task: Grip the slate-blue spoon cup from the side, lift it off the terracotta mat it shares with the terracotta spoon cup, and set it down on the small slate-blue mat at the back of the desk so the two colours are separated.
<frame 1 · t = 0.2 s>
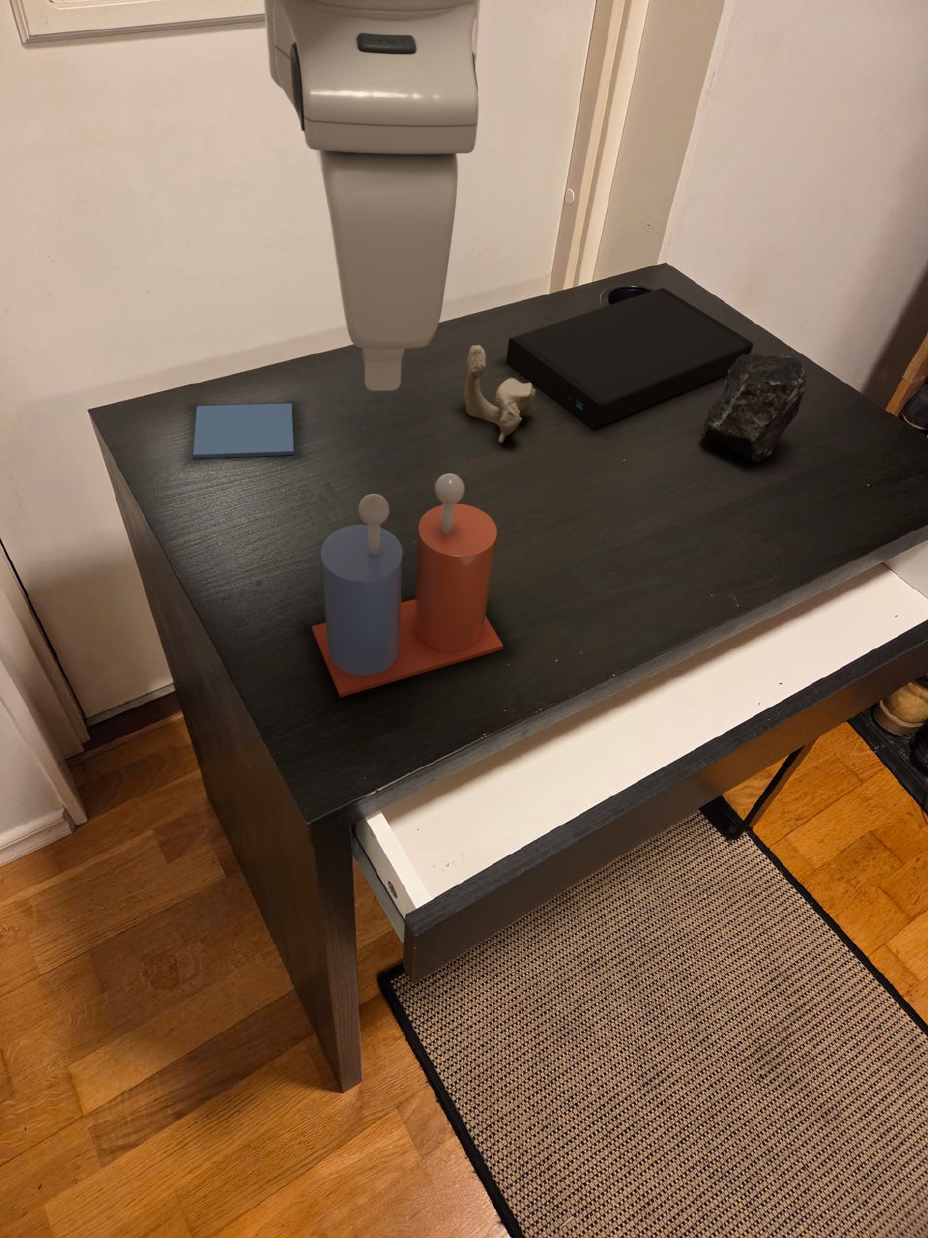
hand: (373, 333, 46), 26 cm above the table, tool pointing down, fingers open, 8 cm apart
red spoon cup: (448, 624, 66), resting on red mat
blue mat: (244, 432, 81), on the table
external hard drive: (626, 366, 94), on the table
red mat: (407, 640, 65), on the table
bone: (502, 425, 85), on the table
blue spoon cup: (363, 648, 64), resting on red mat
rock: (735, 448, 86), on the table
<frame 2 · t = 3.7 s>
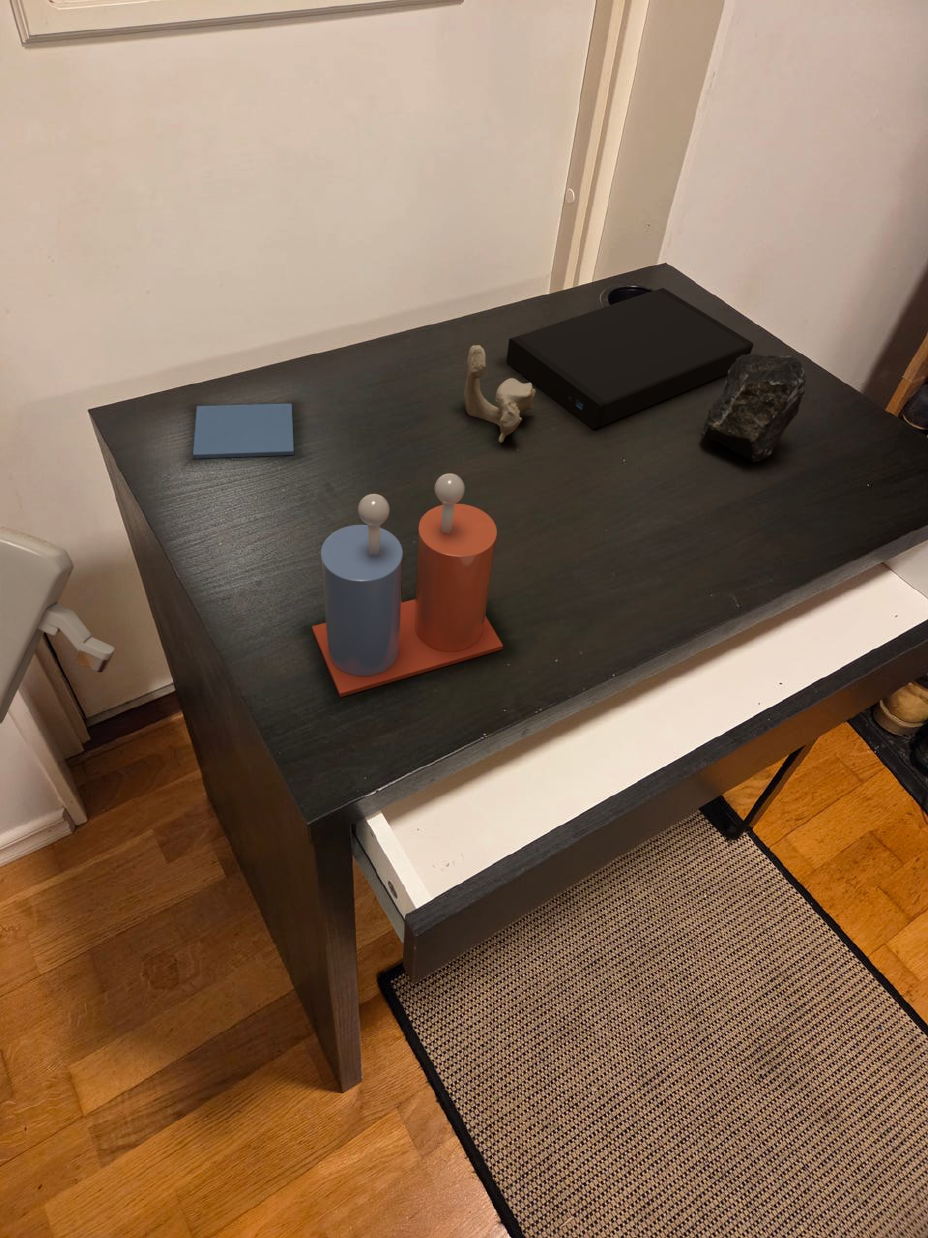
hand: (80, 721, 57), 1 cm above the table, tool tilted 65°, fingers open, 8 cm apart
nothing on the table moved.
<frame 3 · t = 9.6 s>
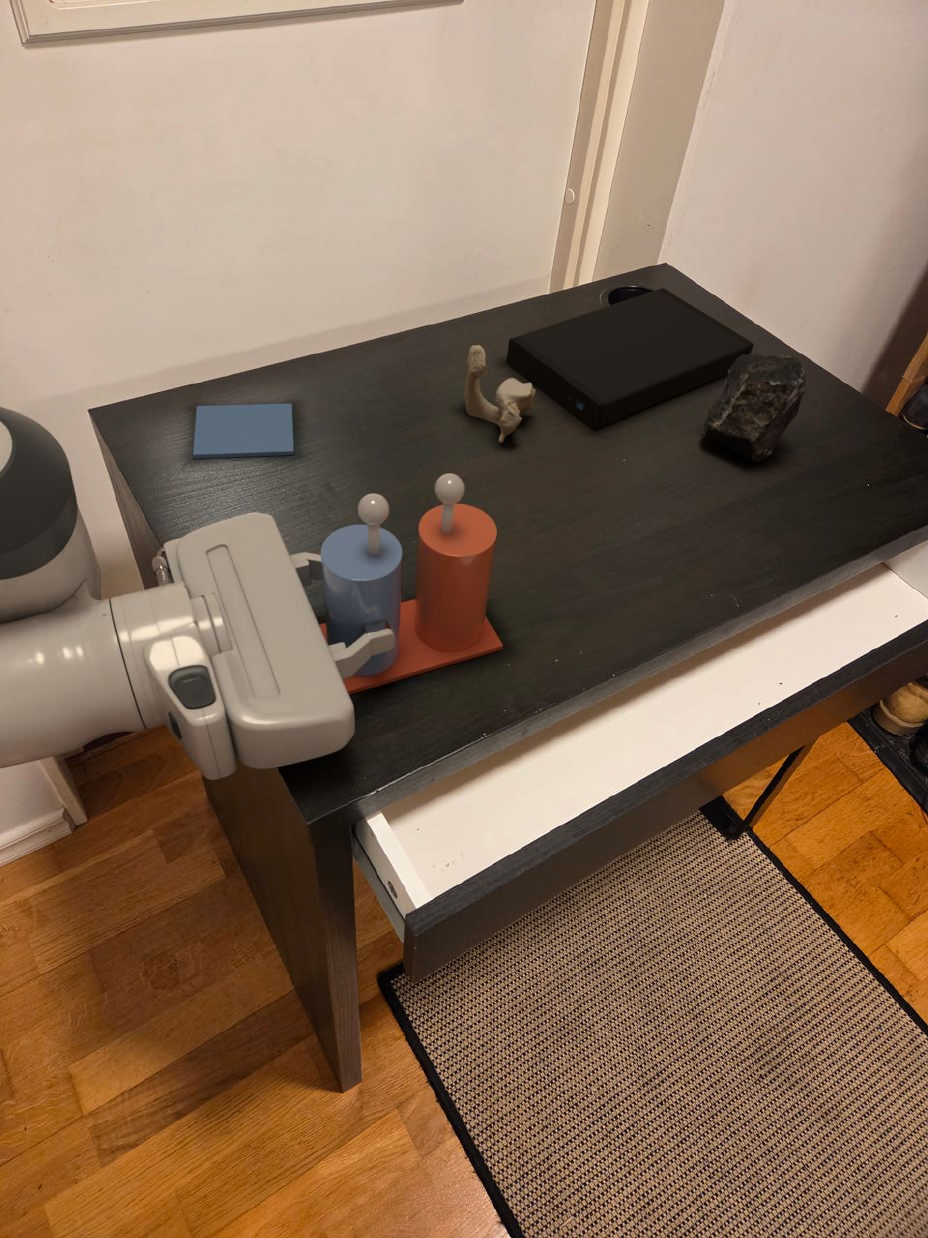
hand: (374, 599, 60), 6 cm above the table, tool horizontal, fingers closed on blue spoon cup, 5 cm apart
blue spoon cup: (363, 648, 64), point 1 cm above the table, touching gripper, red mat
everything else where it was.
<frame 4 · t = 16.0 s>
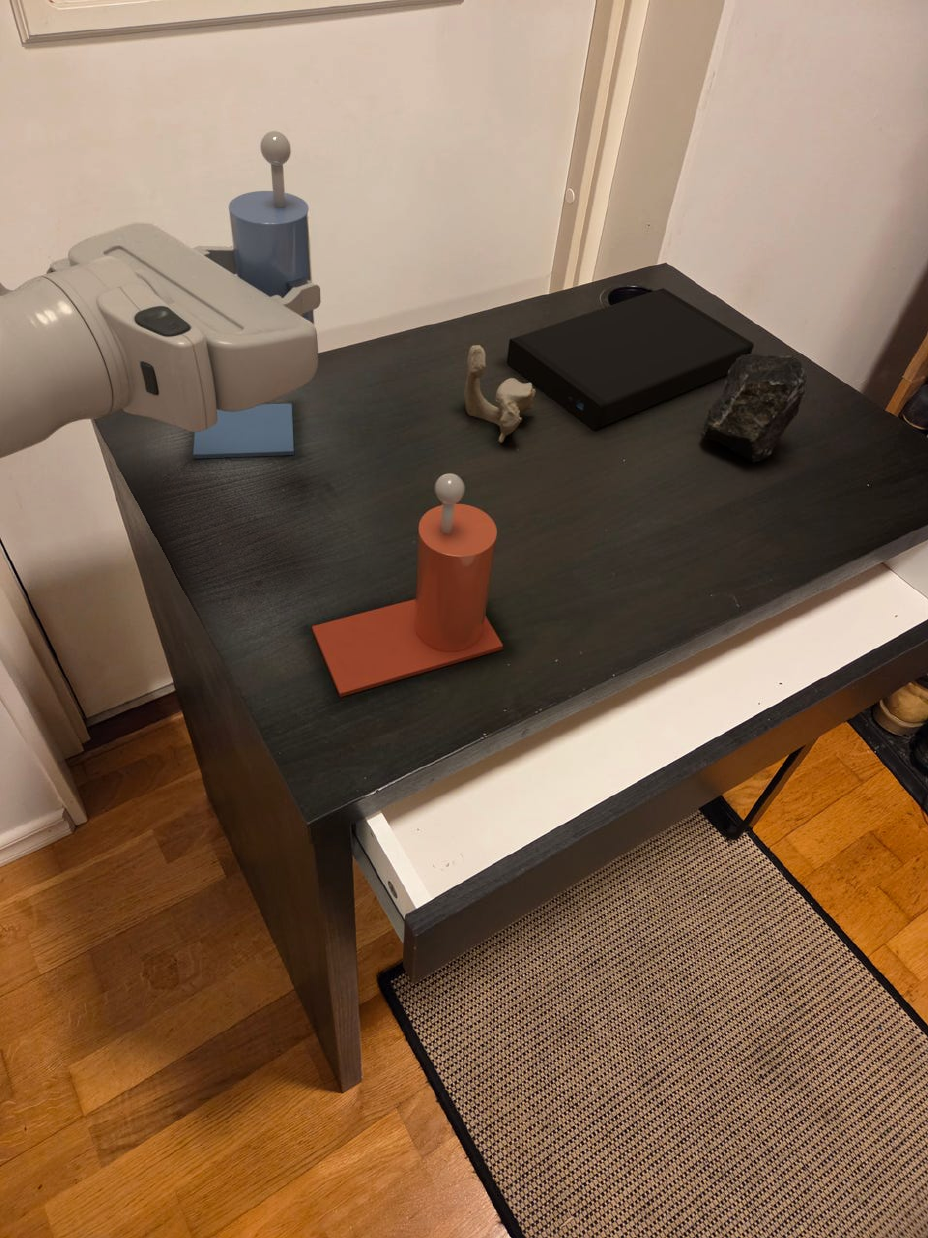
hand: (284, 273, 63), 19 cm above the table, tool horizontal, fingers closed on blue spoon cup, 5 cm apart
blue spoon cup: (279, 339, 66), point 14 cm above the table, touching gripper
everything else where it was.
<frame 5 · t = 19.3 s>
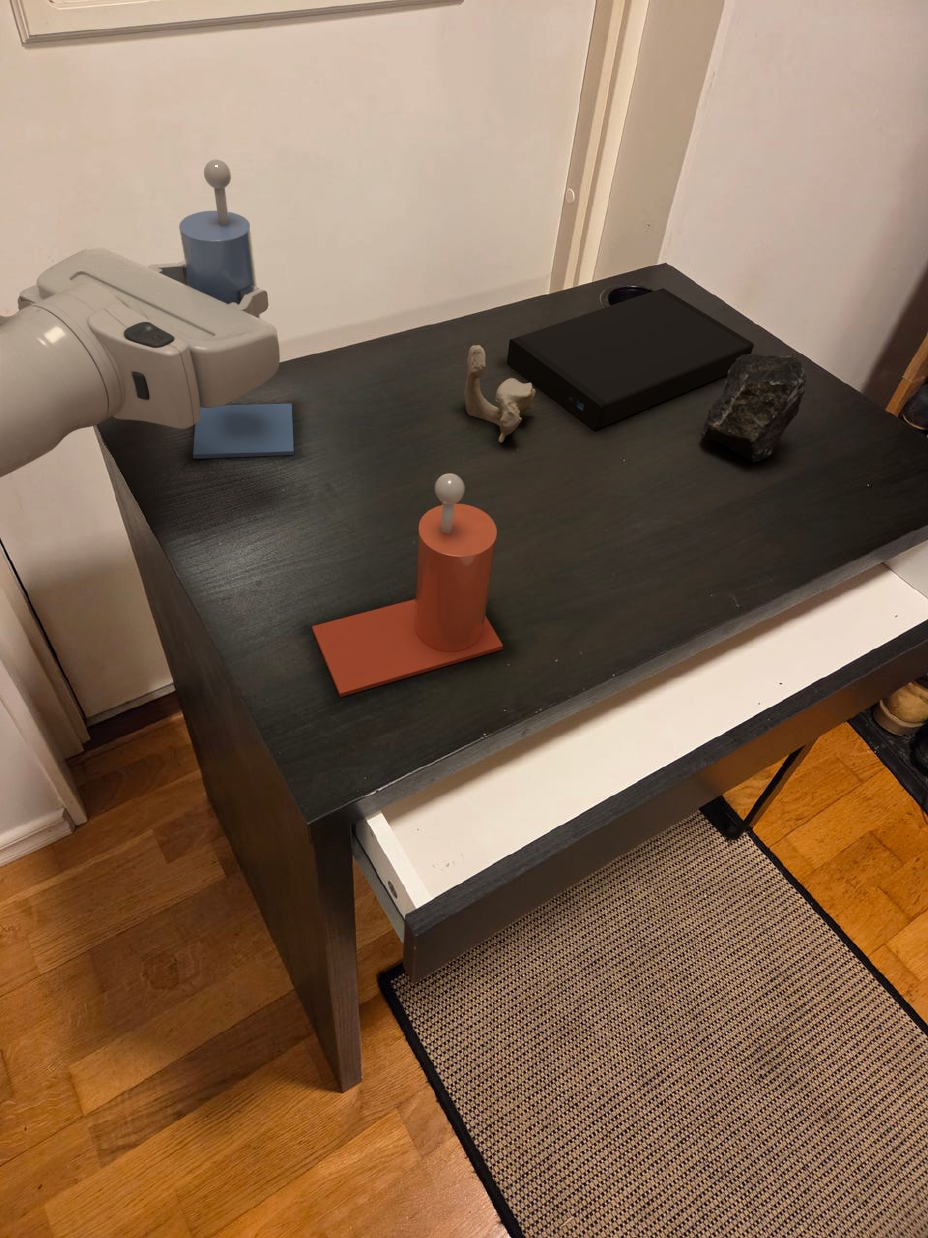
hand: (231, 282, 71), 14 cm above the table, tool horizontal, fingers closed on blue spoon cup, 5 cm apart
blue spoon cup: (230, 341, 74), point 9 cm above the table, touching gripper
everything else where it was.
when the fingers open (5 cm above the table, at t = 22.3 s): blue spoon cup stays where it is, resting on blue mat.
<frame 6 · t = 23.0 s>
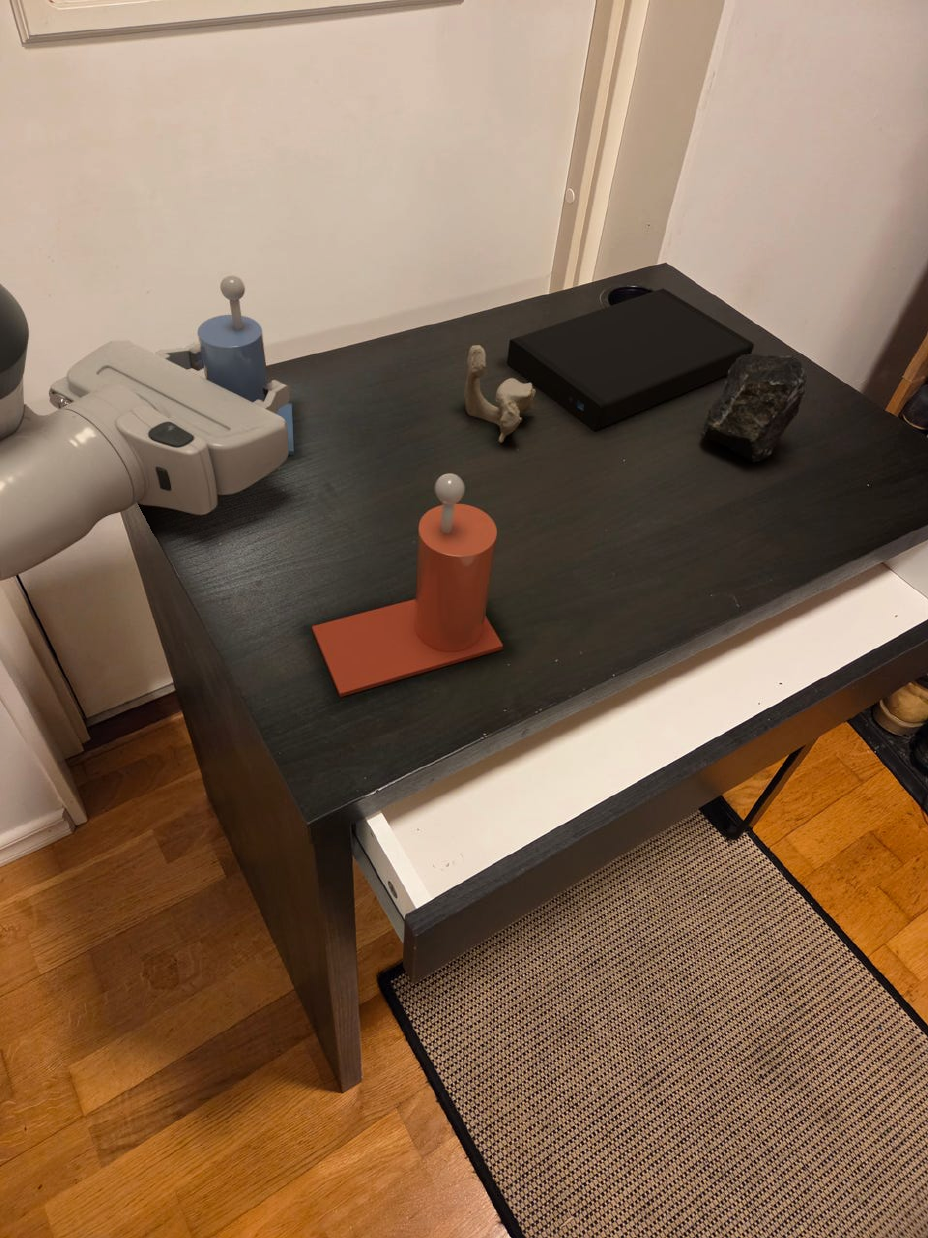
hand: (243, 370, 77), 6 cm above the table, tool horizontal, fingers open, 8 cm apart
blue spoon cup: (243, 427, 81), resting on blue mat
everything else where it was.
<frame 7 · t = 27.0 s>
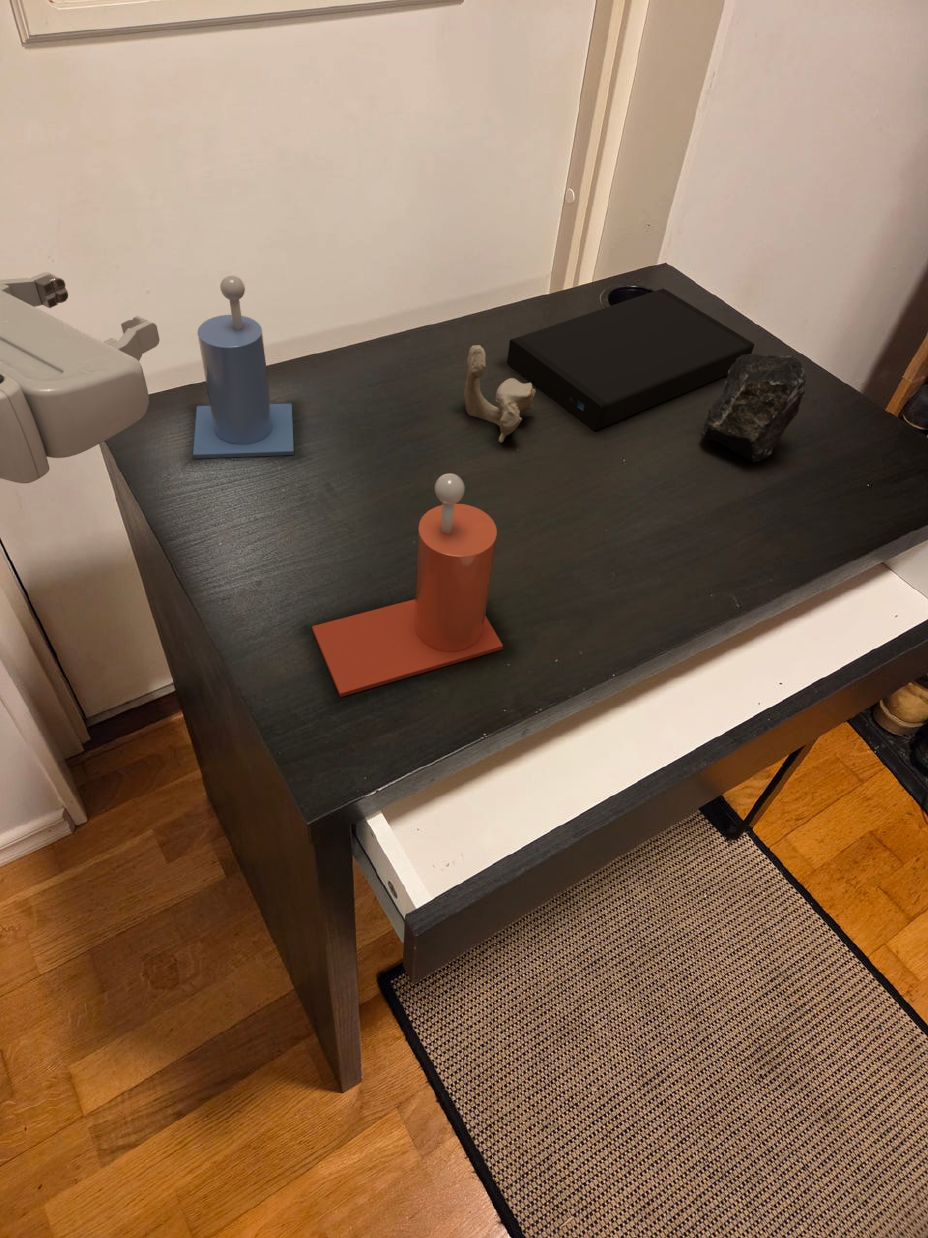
hand: (104, 306, 61), 18 cm above the table, tool horizontal, fingers open, 8 cm apart
nothing on the table moved.
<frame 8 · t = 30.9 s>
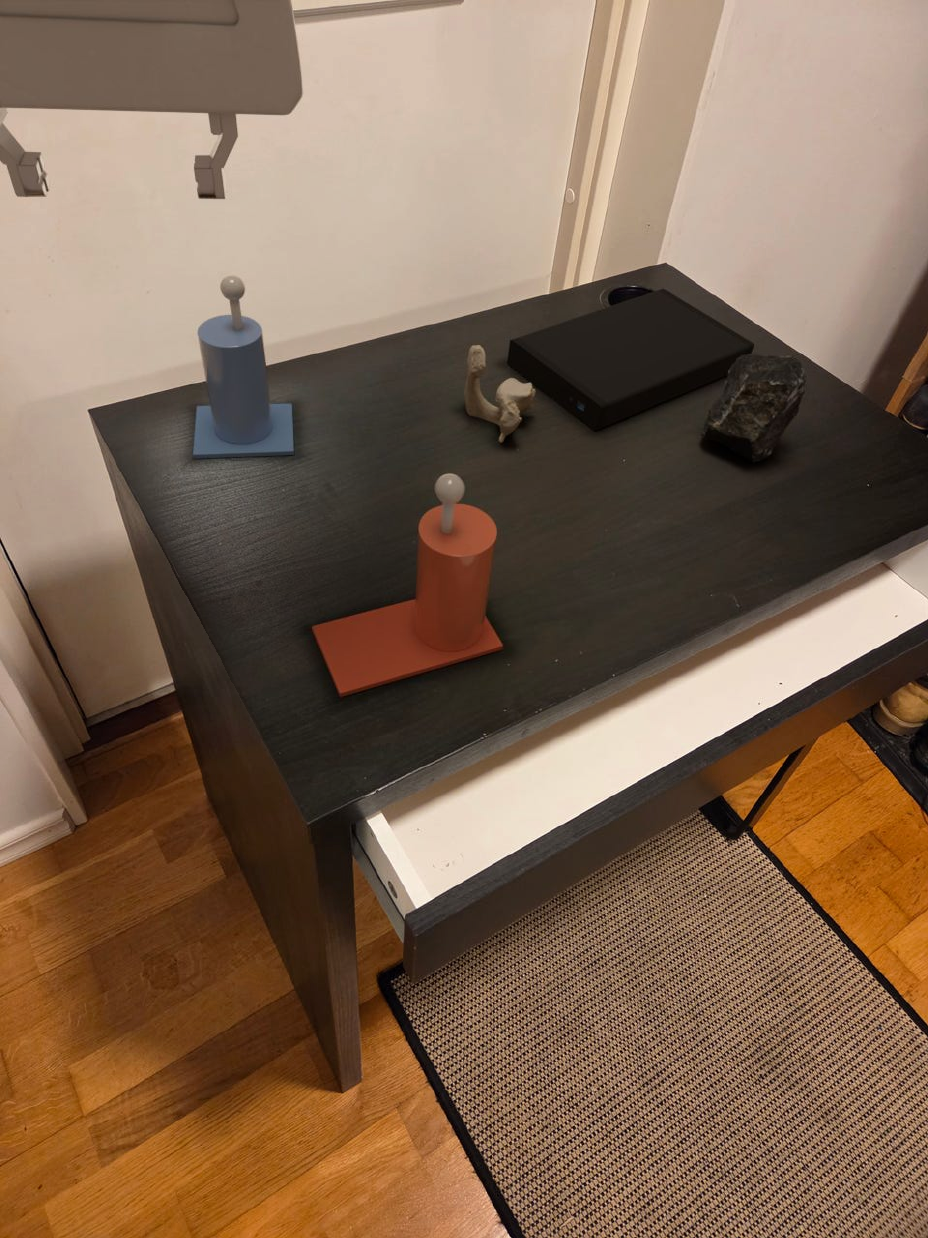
hand: (124, 194, 47), 29 cm above the table, tool pointing down, fingers open, 8 cm apart
nothing on the table moved.
at the end: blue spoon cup 0.1 cm off-centre on the blue mat, point 0.5 cm above the blue mat's base; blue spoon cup tilted 0°; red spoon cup inside the target area on the red mat (0.3 cm from its centre), point 0.5 cm above the red mat's base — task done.
